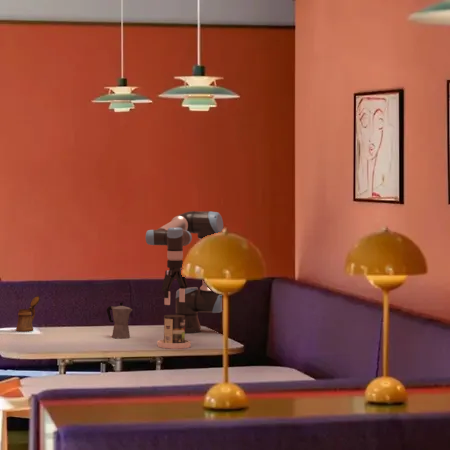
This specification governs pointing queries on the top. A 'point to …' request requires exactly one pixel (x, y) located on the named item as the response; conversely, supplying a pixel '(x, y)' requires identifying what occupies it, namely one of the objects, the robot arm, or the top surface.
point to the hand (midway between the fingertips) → (174, 303)
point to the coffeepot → (120, 321)
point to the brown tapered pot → (27, 317)
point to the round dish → (174, 344)
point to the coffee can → (174, 328)
